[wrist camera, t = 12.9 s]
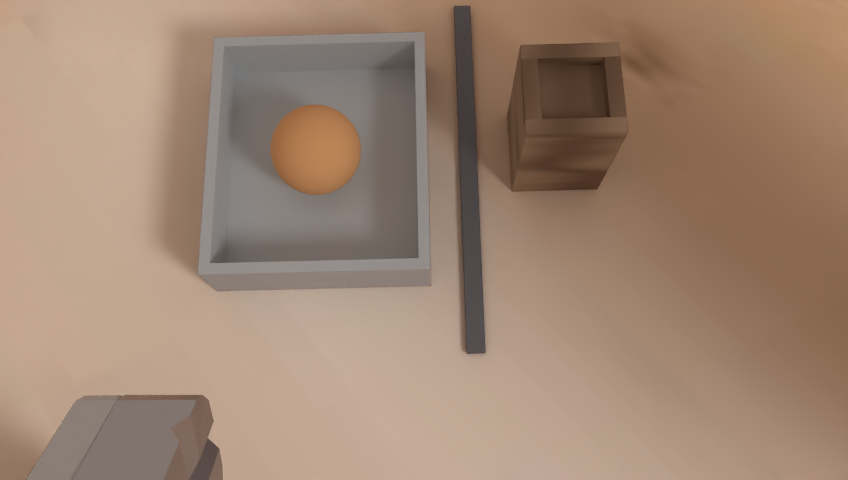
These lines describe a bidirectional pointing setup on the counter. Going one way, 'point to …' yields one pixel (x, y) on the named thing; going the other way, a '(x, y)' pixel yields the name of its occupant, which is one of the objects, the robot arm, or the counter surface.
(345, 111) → the tray
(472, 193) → the line
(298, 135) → the ball
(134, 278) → the counter surface
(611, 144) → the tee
